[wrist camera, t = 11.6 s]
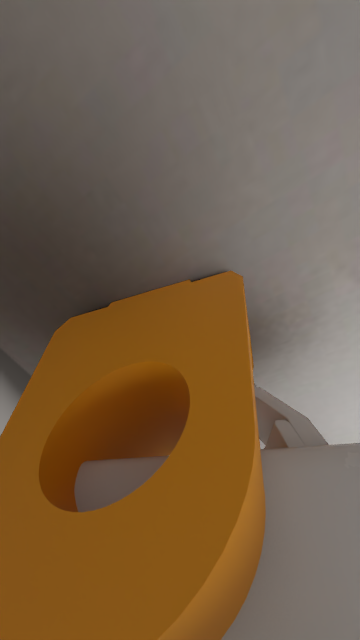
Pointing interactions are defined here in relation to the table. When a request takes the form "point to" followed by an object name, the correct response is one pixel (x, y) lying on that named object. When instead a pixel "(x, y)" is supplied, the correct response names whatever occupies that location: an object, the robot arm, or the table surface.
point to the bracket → (156, 493)
